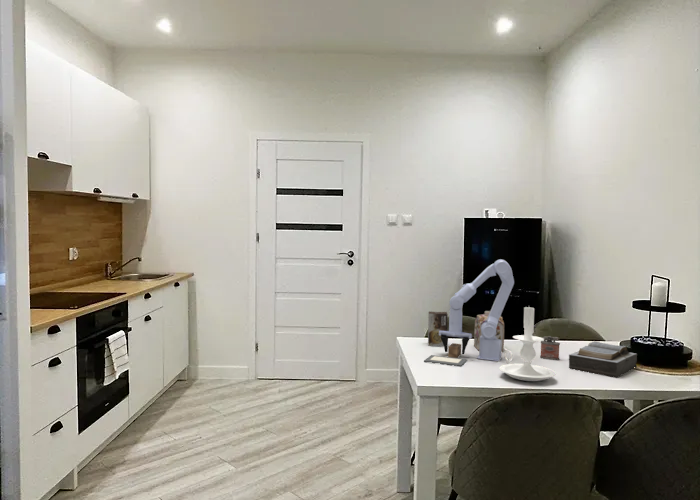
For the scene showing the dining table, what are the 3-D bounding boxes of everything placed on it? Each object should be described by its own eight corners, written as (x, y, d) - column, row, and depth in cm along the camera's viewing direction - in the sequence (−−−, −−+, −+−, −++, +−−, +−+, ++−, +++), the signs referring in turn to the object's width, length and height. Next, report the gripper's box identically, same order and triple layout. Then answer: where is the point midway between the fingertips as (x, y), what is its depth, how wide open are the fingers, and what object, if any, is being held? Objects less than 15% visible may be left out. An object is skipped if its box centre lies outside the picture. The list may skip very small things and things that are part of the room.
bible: (648, 371, 224) (649, 347, 224) (612, 380, 209) (613, 354, 209) (595, 359, 244) (596, 337, 243) (558, 367, 228) (559, 343, 228)
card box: (460, 355, 246) (461, 344, 246) (456, 358, 238) (457, 347, 238) (452, 354, 247) (452, 343, 247) (448, 357, 240) (448, 346, 240)
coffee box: (446, 344, 268) (447, 311, 268) (447, 346, 262) (448, 313, 261) (427, 343, 269) (428, 311, 269) (428, 346, 263) (429, 312, 262)
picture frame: (467, 360, 235) (467, 358, 234) (461, 366, 224) (461, 364, 224) (431, 356, 241) (431, 354, 241) (423, 362, 230) (423, 360, 230)
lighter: (539, 358, 242) (540, 336, 242) (540, 356, 245) (541, 334, 245) (558, 360, 238) (559, 338, 238) (559, 359, 241) (560, 336, 241)
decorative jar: (503, 352, 253) (505, 313, 253) (478, 351, 254) (480, 313, 253) (497, 346, 265) (498, 310, 265) (473, 346, 265) (474, 309, 265)
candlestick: (524, 367, 225) (526, 300, 224) (567, 383, 202) (570, 308, 201) (482, 370, 218) (484, 301, 217) (522, 388, 195) (524, 310, 194)
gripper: (437, 322, 242) (436, 352, 242) (470, 325, 236) (469, 356, 236) (441, 320, 248) (440, 349, 249) (473, 323, 242) (472, 353, 243)
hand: (454, 352), depth 243 cm, fingers open, 7 cm apart
